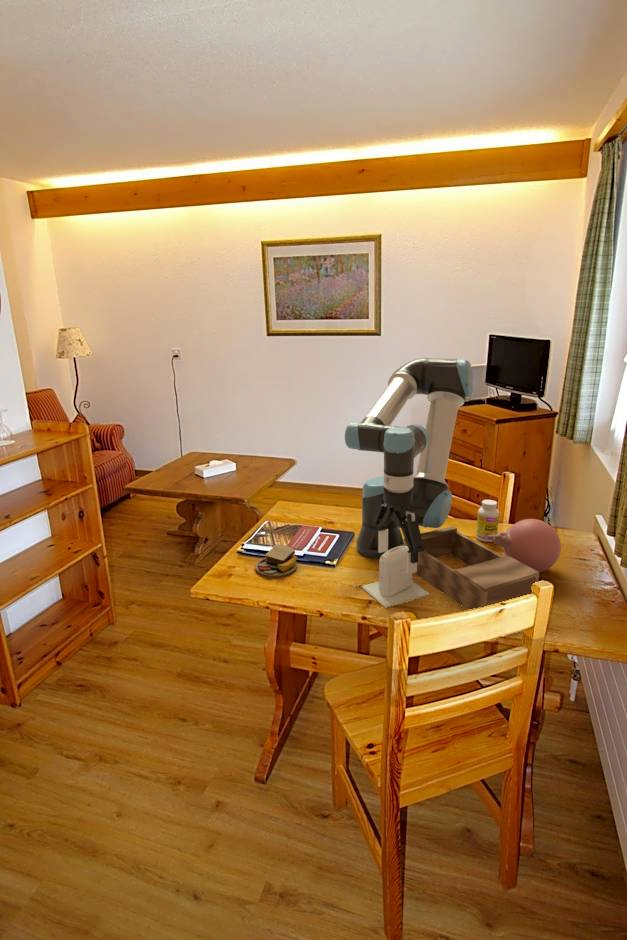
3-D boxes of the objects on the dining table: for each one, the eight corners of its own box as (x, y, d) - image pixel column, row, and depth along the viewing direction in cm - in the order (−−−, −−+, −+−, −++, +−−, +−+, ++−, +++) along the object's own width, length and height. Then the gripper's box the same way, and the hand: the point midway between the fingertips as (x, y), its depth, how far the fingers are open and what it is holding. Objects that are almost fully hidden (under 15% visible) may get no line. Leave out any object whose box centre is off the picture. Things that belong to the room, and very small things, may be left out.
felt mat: (361, 587, 155) (361, 585, 155) (403, 576, 161) (403, 574, 161) (385, 608, 145) (385, 606, 145) (429, 595, 151) (429, 593, 151)
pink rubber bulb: (485, 553, 174) (488, 507, 170) (554, 560, 169) (559, 513, 164) (485, 577, 160) (489, 527, 155) (561, 585, 155) (567, 534, 150)
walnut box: (403, 565, 168) (404, 537, 165) (451, 552, 175) (452, 526, 173) (482, 620, 139) (485, 588, 136) (535, 603, 146) (539, 572, 144)
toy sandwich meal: (246, 570, 167) (245, 556, 166) (276, 554, 177) (276, 540, 176) (277, 582, 160) (277, 567, 158) (307, 565, 170) (307, 551, 168)
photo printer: (387, 598, 148) (388, 556, 145) (376, 592, 152) (377, 550, 148) (414, 586, 154) (416, 545, 151) (403, 580, 158) (404, 540, 154)
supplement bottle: (482, 543, 181) (485, 506, 177) (472, 535, 187) (474, 499, 184) (500, 541, 183) (504, 504, 179) (490, 533, 189) (493, 497, 185)
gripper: (360, 476, 153) (361, 546, 160) (414, 507, 132) (412, 586, 139) (384, 471, 156) (383, 540, 163) (440, 500, 135) (437, 578, 142)
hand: (396, 561), depth 151 cm, fingers open, 13 cm apart
